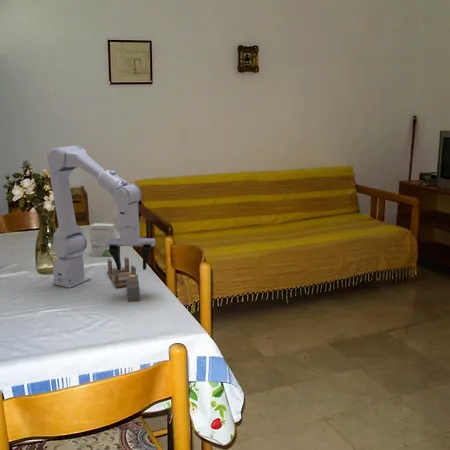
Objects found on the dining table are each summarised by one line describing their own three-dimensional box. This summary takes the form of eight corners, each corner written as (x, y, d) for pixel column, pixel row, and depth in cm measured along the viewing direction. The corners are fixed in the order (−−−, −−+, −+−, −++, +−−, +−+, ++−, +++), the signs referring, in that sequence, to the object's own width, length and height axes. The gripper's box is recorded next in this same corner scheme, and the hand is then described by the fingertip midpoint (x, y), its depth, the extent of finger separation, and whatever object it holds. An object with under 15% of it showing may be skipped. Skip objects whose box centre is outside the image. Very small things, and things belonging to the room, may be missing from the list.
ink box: (91, 256, 203) (88, 225, 200) (95, 252, 208) (93, 222, 205) (113, 256, 202) (111, 226, 199) (117, 252, 207) (115, 222, 204)
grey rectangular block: (140, 301, 158) (139, 286, 157) (128, 302, 157) (127, 287, 156) (138, 287, 169) (137, 273, 168) (127, 288, 169) (126, 274, 168)
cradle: (138, 285, 171) (137, 268, 169) (116, 288, 168) (115, 271, 167) (127, 270, 185) (126, 255, 184) (107, 273, 183) (106, 258, 181)
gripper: (155, 221, 162) (157, 264, 165) (107, 222, 162) (110, 265, 165) (152, 227, 155) (154, 271, 158) (102, 228, 155) (105, 272, 158)
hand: (131, 269), depth 161 cm, fingers open, 7 cm apart
